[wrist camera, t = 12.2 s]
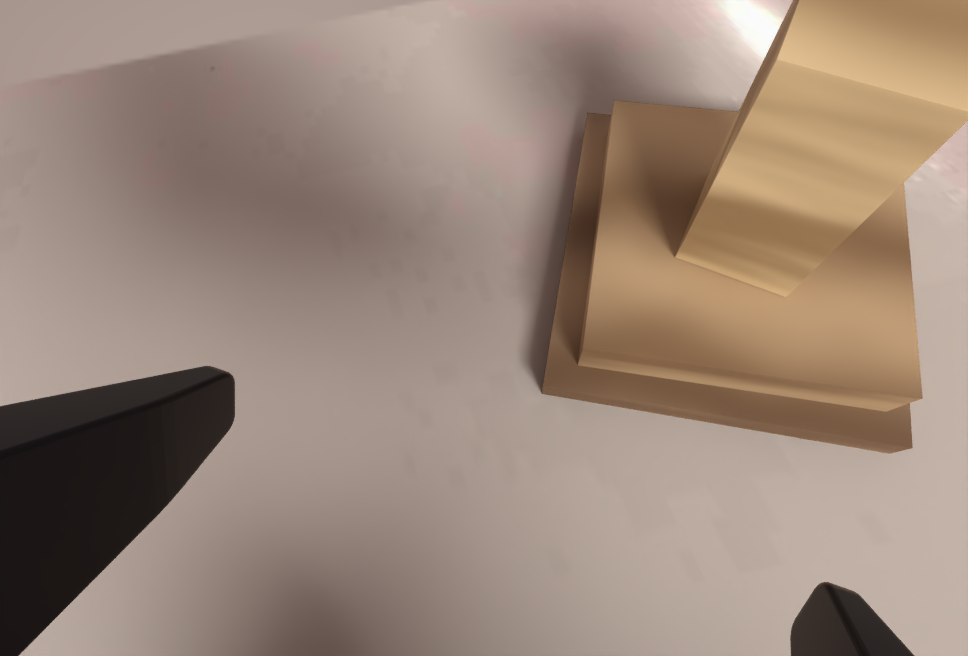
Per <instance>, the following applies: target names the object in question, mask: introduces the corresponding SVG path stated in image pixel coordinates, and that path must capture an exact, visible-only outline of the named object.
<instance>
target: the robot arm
mask: <svg viewBox="0 0 968 656" xmlns="http://www.w3.org/2000/svg"><path fill="white" fill-rule="evenodd" d="M234 417H235V381H234V378H233V376H232V375H231V374H230V373H229V372H226V371H223V370H221V369H218V368H215V367H211V366H204V367H199V368H193V369H188V370H183V371H178V372H173V373H168V374H163V375H158V376H153V377H147V378H142V379H137V380H132V381H127V382H122V383H117V384H112V385H107V386H101V387H96V388H91V389H86V390H81V391H76V392H71V393H66V394H61V395H55V396H50V397H45V398H40V399H35V400H30V401H25V402H20V403H15V404H10V405H4V406H0V656H19V655H20V654H21V653H22V652H23V651H24V650H25V649H26V648H27V647H28V646H29V645H30V644H31V643H32V642H33V641H34V640H35V639H36V637H37V636H38V635H39V634H40V633H41V632H42V631H43V630H44V629H45V628H46V627H47V626H48V625H49V624H50V623H51V622H52V621H53V620H54V619H55V618H56V617H57V616H58V615H59V614H60V613H61V612H62V611H63V610H64V609H65V608H66V607H67V606H68V605H69V604H70V603H71V602H72V601H73V600H74V599H75V598H76V597H77V596H78V595H79V594H80V593H81V592H82V591H83V590H84V589H85V588H86V587H87V586H88V585H89V584H90V583H91V582H92V581H93V580H94V579H95V578H96V577H97V576H98V575H99V574H100V573H101V572H102V571H103V570H104V569H105V568H106V567H107V566H108V565H109V564H110V563H111V562H112V561H113V560H114V559H115V558H116V557H117V556H118V555H119V554H120V553H121V552H122V551H123V550H124V549H125V548H126V547H127V546H128V545H129V544H130V543H131V542H132V541H133V540H134V539H135V538H136V537H137V536H138V535H139V534H140V533H141V532H142V530H143V529H144V528H145V527H146V526H147V525H148V524H149V523H150V522H151V521H152V520H153V519H154V518H155V517H156V516H157V515H158V514H159V513H160V512H161V511H162V510H163V509H164V508H165V507H166V506H167V505H168V504H169V502H170V501H171V500H172V499H173V498H174V497H175V496H176V494H177V493H178V492H179V491H180V490H181V489H182V487H183V486H184V485H185V484H186V482H187V481H188V480H189V479H190V477H191V476H192V475H193V474H194V473H195V471H196V470H197V469H198V468H199V466H200V465H201V464H202V463H203V462H204V460H205V459H206V458H207V457H208V455H209V454H210V453H211V452H212V450H213V449H214V448H215V447H216V446H217V444H218V443H219V442H220V441H221V439H222V438H223V437H224V436H225V435H226V433H227V432H228V431H229V429H230V428H231V426H232V424H233V421H234ZM790 641H791V656H914V655H913V654H912V652H911V651H910V650H909V649H908V648H907V647H906V646H905V645H904V644H903V643H902V641H901V640H900V639H899V638H898V637H897V636H896V635H895V634H894V633H893V631H892V630H891V629H890V628H889V627H888V626H887V625H886V624H885V623H884V622H883V620H882V619H881V618H880V617H879V616H878V615H877V614H876V613H875V612H874V610H873V609H872V608H871V607H870V606H869V605H868V604H867V603H866V602H865V601H864V599H863V598H862V597H861V596H860V595H859V594H857V593H856V592H854V591H852V590H849V589H846V588H843V587H840V586H837V585H834V584H832V583H829V582H823V583H820V584H819V585H818V586H817V587H816V588H815V589H814V591H813V592H812V594H811V595H810V597H809V598H808V600H807V602H806V603H805V605H804V606H803V608H802V609H801V611H800V612H799V614H798V615H797V617H796V619H795V620H794V623H793V625H792V629H791V637H790Z"/></svg>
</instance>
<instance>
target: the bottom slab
mask: <svg viewBox="0 0 968 656" xmlns="http://www.w3.org/2000/svg"><path fill="white" fill-rule="evenodd" d="M610 120H611V115H604V114H595V113H587V119H586V125H585V132H584V138H583V144H582V150H581V156H580V162H579V168H578V174H577V180H576V186H575V193H574V199H573V205H572V211H571V217H570V223H569V229H568V235H567V241H566V247H565V254H564V260H563V266H562V272H561V278H560V284H559V290H558V296H557V302H556V308H555V314H554V321H553V327H552V333H551V339H550V345H549V351H548V357H547V363H546V369H545V375H544V382H543V389H542V394H547V395H553V396H559V397H564V398H570V399H576V400H582V401H588V402H593V403H599V404H605V405H611V406H617V407H622V408H628V409H634V410H640V411H646V412H652V413H657V414H663V415H669V416H675V417H681V418H686V419H692V420H698V421H704V422H710V423H715V424H721V425H727V426H733V427H739V428H744V429H750V430H756V431H762V432H768V433H773V434H779V435H785V436H791V437H797V438H803V439H808V440H814V441H820V442H826V443H832V444H837V445H843V446H849V447H855V448H861V449H866V450H872V451H878V452H884V453H894V452H898V451H902V450H906V449H910V448H912V433H911V417H910V403H908V404H906V405H903V406H900V407H898V408H895V409H892V410H890V411H887V412H884V411H878V410H871V409H865V408H858V407H851V406H845V405H838V404H831V403H825V402H818V401H811V400H805V399H798V398H791V397H785V396H778V395H772V394H765V393H758V392H752V391H745V390H738V389H732V388H725V387H718V386H712V385H705V384H699V383H692V382H685V381H679V380H672V379H665V378H659V377H652V376H646V375H639V374H632V373H626V372H619V371H612V370H606V369H599V368H593V367H586V366H579V365H578V361H579V353H580V345H581V338H582V330H583V322H584V314H585V307H586V299H587V291H588V283H589V276H590V268H591V260H592V252H593V245H594V237H595V229H596V221H597V213H598V206H599V198H600V190H601V182H602V175H603V167H604V159H605V151H606V144H607V136H608V130H609V125H610Z"/></svg>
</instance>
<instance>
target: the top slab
mask: <svg viewBox="0 0 968 656" xmlns="http://www.w3.org/2000/svg"><path fill="white" fill-rule="evenodd" d="M737 114H738V112H735V111H724V110H713V109H702V108H691V107H680V106H669V105H658V104H647V103H636V102H625V101H614V105H613V110H612V115H611V120H610V125H609V130H608V136H607V144H606V151H605V159H604V167H603V175H602V182H601V190H600V198H599V206H598V213H597V221H596V229H595V237H594V245H593V252H592V260H591V268H590V276H589V283H588V291H587V299H586V307H585V314H584V322H583V330H582V338H581V345H580V353H579V361H578V365H579V366H586V367H593V368H599V369H606V370H612V371H619V372H626V373H632V374H639V375H646V376H652V377H659V378H665V379H672V380H679V381H685V382H692V383H699V384H705V385H712V386H718V387H725V388H732V389H738V390H745V391H752V392H758V393H765V394H772V395H778V396H785V397H791V398H798V399H805V400H811V401H818V402H825V403H831V404H838V405H845V406H851V407H858V408H865V409H871V410H878V411H884V412H887V411H890V410H892V409H895V408H898V407H900V406H903V405H906V404H908V403H911V402H914V401H917V400H919V399H922V387H921V375H920V364H919V352H918V341H917V329H916V318H915V306H914V295H913V283H912V272H911V260H910V249H909V237H908V226H907V214H906V203H905V191H904V183H903V184H902V185H901V186H900V187H899V188H898V189H897V190H896V191H895V192H894V193H893V194H892V195H891V196H889V197H888V198H887V199H886V200H885V201H884V202H883V203H882V204H881V205H880V206H879V207H878V208H877V209H876V210H875V211H874V212H873V213H872V214H871V215H870V216H869V217H868V218H867V219H866V220H865V221H864V222H863V223H862V224H861V225H860V226H859V227H858V228H857V229H856V230H855V231H853V232H852V233H851V234H850V235H849V236H848V237H847V238H846V239H845V240H844V241H843V242H842V243H841V244H840V245H839V246H838V247H837V248H836V249H835V250H834V251H833V252H832V253H831V254H830V255H829V256H828V257H827V258H826V259H825V260H824V261H823V262H822V263H821V264H820V265H819V266H817V267H816V268H815V269H814V270H813V271H812V272H811V273H810V274H809V275H808V276H807V277H806V278H805V279H804V280H803V281H802V282H801V283H800V284H799V285H798V286H797V287H796V288H795V289H794V290H793V291H792V292H791V293H790V294H789V295H788V296H787V297H784V296H781V295H778V294H776V293H773V292H770V291H767V290H764V289H762V288H759V287H756V286H753V285H751V284H748V283H745V282H742V281H739V280H737V279H734V278H731V277H728V276H726V275H723V274H720V273H717V272H714V271H712V270H709V269H706V268H703V267H701V266H698V265H695V264H692V263H689V262H687V261H684V260H681V259H678V258H676V257H675V256H676V254H677V251H678V249H679V246H680V244H681V241H682V239H683V236H684V234H685V231H686V229H687V226H688V224H689V221H690V219H691V216H692V214H693V211H694V209H695V206H696V204H697V201H698V199H699V196H700V193H701V191H702V188H703V186H704V183H705V181H706V178H707V176H708V173H709V171H710V169H711V167H712V165H713V163H714V161H715V159H716V157H717V155H718V153H719V151H720V149H721V147H722V145H723V143H724V141H725V139H726V137H727V135H728V132H729V130H730V128H731V126H732V124H733V122H734V120H735V118H736V116H737Z"/></svg>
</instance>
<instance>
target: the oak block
mask: <svg viewBox="0 0 968 656" xmlns="http://www.w3.org/2000/svg"><path fill="white" fill-rule="evenodd" d="M967 121H968V0H793V2H792V4H791V6H790V8H789V10H788V12H787V14H786V16H785V18H784V20H783V22H782V24H781V26H780V28H779V30H778V32H777V34H776V36H775V38H774V40H773V42H772V45H771V47H770V49H769V51H768V53H767V55H766V57H765V59H764V61H763V63H762V65H761V67H760V69H759V71H758V73H757V75H756V77H755V79H754V81H753V83H752V85H751V87H750V90H749V92H748V94H747V96H746V98H745V100H744V102H743V104H742V106H741V108H740V110H739V112H738V114H737V116H736V118H735V120H734V122H733V124H732V126H731V128H730V130H729V132H728V135H727V137H726V139H725V141H724V143H723V145H722V147H721V149H720V151H719V153H718V155H717V157H716V159H715V161H714V163H713V165H712V167H711V169H710V171H709V173H708V176H707V178H706V181H705V183H704V186H703V188H702V191H701V193H700V196H699V199H698V201H697V204H696V206H695V209H694V211H693V214H692V216H691V219H690V221H689V224H688V226H687V229H686V231H685V234H684V236H683V239H682V241H681V244H680V246H679V249H678V251H677V254H676V256H675V257H676V258H678V259H681V260H684V261H687V262H689V263H692V264H695V265H698V266H701V267H703V268H706V269H709V270H712V271H714V272H717V273H720V274H723V275H726V276H728V277H731V278H734V279H737V280H739V281H742V282H745V283H748V284H751V285H753V286H756V287H759V288H762V289H764V290H767V291H770V292H773V293H776V294H778V295H781V296H784V297H787V296H788V295H789V294H790V293H791V292H792V291H793V290H794V289H795V288H796V287H797V286H798V285H799V284H800V283H801V282H802V281H803V280H804V279H805V278H806V277H807V276H808V275H809V274H810V273H811V272H812V271H813V270H814V269H815V268H816V267H817V266H819V265H820V264H821V263H822V262H823V261H824V260H825V259H826V258H827V257H828V256H829V255H830V254H831V253H832V252H833V251H834V250H835V249H836V248H837V247H838V246H839V245H840V244H841V243H842V242H843V241H844V240H845V239H846V238H847V237H848V236H849V235H850V234H851V233H852V232H853V231H855V230H856V229H857V228H858V227H859V226H860V225H861V224H862V223H863V222H864V221H865V220H866V219H867V218H868V217H869V216H870V215H871V214H872V213H873V212H874V211H875V210H876V209H877V208H878V207H879V206H880V205H881V204H882V203H883V202H884V201H885V200H886V199H887V198H888V197H889V196H891V195H892V194H893V193H894V192H895V191H896V190H897V189H898V188H899V187H900V186H901V185H902V184H903V183H904V182H905V181H906V180H907V179H908V178H909V177H910V176H911V175H912V174H913V173H914V172H915V171H916V170H917V169H918V168H919V167H920V166H921V165H922V164H923V163H924V162H925V161H926V160H928V159H929V158H930V157H931V156H932V155H933V154H934V153H935V152H936V151H937V150H938V149H939V148H940V147H941V146H942V145H943V144H944V143H945V142H946V141H947V140H948V139H949V138H950V137H951V136H952V135H953V134H954V133H955V132H956V131H957V130H958V129H959V128H960V127H961V126H962V125H964V124H965V123H966V122H967Z"/></svg>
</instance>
